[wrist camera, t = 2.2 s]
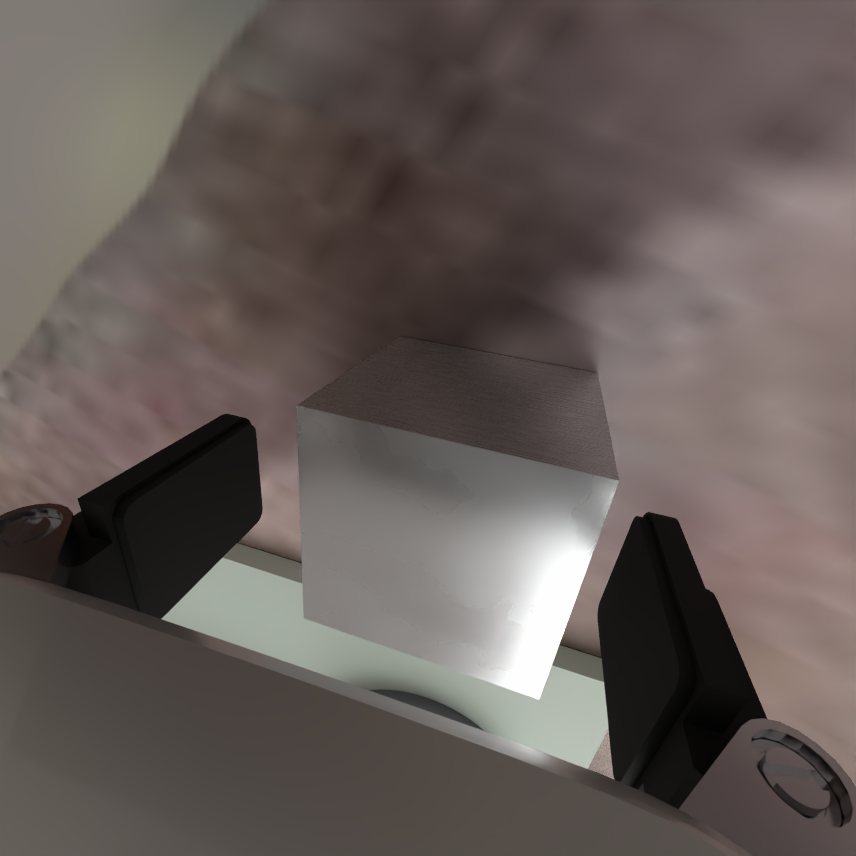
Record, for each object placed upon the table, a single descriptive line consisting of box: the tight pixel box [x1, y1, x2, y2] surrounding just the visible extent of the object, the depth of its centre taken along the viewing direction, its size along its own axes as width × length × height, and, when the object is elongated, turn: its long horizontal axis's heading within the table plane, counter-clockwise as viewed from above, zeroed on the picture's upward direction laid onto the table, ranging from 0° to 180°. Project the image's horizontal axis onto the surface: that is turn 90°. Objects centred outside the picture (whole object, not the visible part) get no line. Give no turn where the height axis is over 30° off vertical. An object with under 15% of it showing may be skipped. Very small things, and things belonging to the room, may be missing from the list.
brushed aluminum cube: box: [297, 336, 619, 699], centre depth 12 cm, size 6×6×6 cm
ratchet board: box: [162, 543, 609, 769], centre depth 20 cm, size 24×18×6 cm
